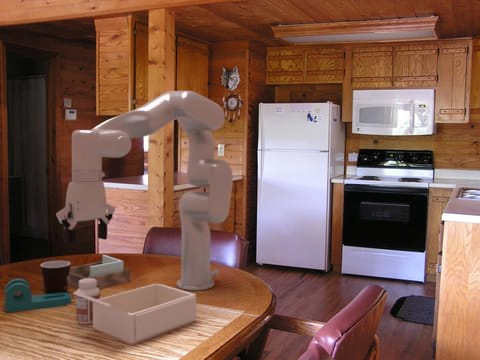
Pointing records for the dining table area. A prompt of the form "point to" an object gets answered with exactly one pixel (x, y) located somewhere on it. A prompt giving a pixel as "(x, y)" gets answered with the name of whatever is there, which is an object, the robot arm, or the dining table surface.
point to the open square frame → (102, 281)
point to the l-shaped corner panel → (106, 267)
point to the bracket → (31, 297)
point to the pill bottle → (83, 305)
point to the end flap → (100, 302)
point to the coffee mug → (55, 276)
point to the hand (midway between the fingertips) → (87, 241)
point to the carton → (144, 313)
